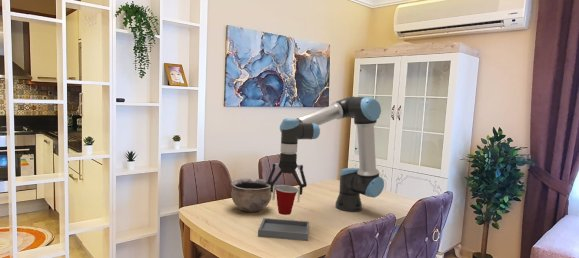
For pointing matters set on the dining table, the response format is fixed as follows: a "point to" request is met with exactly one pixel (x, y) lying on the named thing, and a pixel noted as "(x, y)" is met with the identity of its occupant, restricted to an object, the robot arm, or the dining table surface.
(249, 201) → the ceramic bowl
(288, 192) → the plastic cup
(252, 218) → the dining table surface
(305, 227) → the cup tray
